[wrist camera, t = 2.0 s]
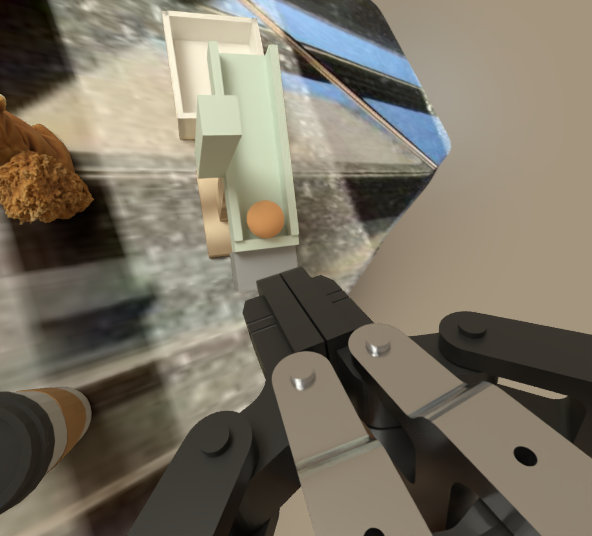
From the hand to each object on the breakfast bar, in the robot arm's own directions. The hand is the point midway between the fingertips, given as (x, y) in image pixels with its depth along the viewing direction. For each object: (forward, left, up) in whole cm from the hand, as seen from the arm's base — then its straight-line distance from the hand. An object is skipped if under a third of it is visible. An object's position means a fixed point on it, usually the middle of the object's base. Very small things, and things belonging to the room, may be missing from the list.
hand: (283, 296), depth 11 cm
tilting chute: (-4, +15, -23) cm, 28 cm away
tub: (-14, +33, -33) cm, 49 cm away
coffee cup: (-13, -14, -33) cm, 38 cm away
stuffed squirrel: (-26, +9, -33) cm, 43 cm away
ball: (-1, +11, -19) cm, 22 cm away
